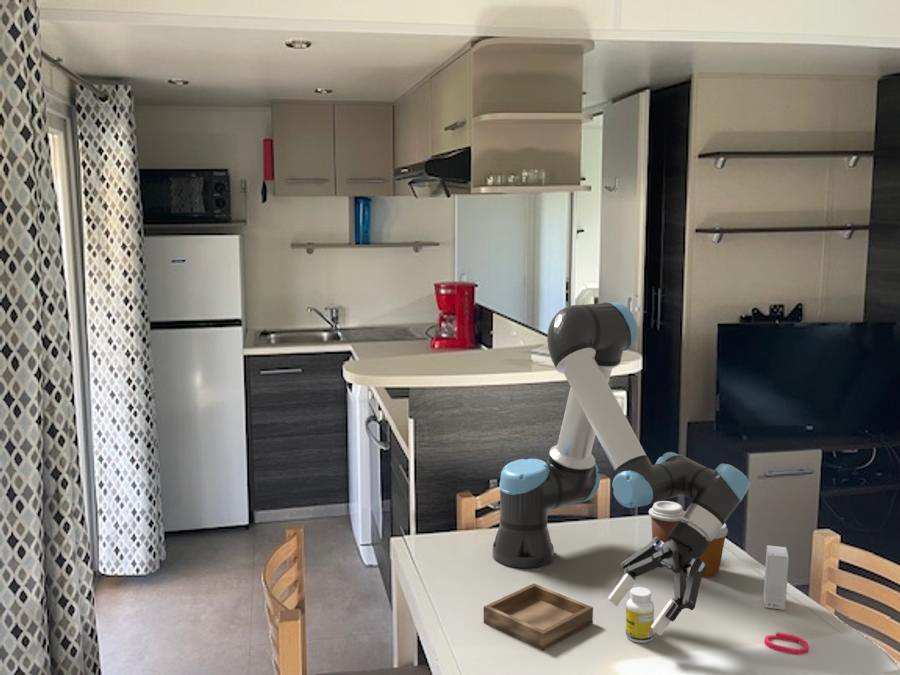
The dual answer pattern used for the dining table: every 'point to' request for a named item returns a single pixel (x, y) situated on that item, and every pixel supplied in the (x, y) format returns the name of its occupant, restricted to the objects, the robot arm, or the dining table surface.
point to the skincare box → (776, 577)
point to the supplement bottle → (639, 615)
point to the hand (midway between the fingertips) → (632, 616)
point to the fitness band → (788, 638)
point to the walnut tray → (538, 616)
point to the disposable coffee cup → (714, 553)
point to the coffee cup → (664, 518)
